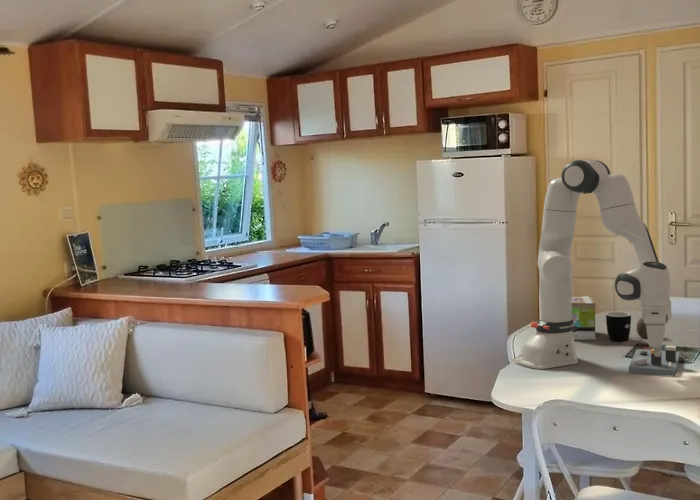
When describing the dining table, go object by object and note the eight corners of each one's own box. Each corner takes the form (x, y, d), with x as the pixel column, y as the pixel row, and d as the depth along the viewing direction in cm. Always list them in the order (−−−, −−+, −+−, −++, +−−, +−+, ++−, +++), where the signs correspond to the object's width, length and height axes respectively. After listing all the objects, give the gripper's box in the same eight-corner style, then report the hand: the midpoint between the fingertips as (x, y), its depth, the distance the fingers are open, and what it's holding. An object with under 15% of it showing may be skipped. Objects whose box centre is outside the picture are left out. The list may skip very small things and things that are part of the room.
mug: (626, 344, 284) (626, 317, 283) (603, 341, 290) (602, 315, 289) (636, 337, 294) (636, 311, 293) (613, 334, 299) (613, 309, 298)
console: (675, 376, 241) (675, 365, 241) (628, 373, 248) (628, 362, 247) (679, 357, 263) (679, 347, 262) (636, 354, 269) (636, 345, 269)
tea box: (596, 340, 292) (595, 302, 291) (569, 340, 294) (568, 302, 293) (591, 331, 307) (591, 295, 305) (566, 331, 309) (565, 295, 307)
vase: (658, 338, 290) (658, 316, 289) (640, 339, 290) (640, 316, 289) (651, 334, 297) (651, 312, 296) (633, 335, 297) (633, 313, 296)
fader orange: (661, 364, 246) (660, 351, 246) (651, 364, 248) (651, 350, 247) (661, 362, 249) (661, 349, 248) (651, 362, 250) (651, 348, 249)
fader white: (675, 361, 250) (675, 347, 249) (665, 360, 251) (665, 347, 251) (675, 359, 252) (675, 345, 252) (666, 358, 254) (666, 345, 253)
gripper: (648, 306, 252) (649, 347, 254) (643, 319, 234) (645, 363, 235) (668, 306, 249) (670, 347, 251) (665, 320, 231) (667, 364, 232)
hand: (657, 355), depth 243 cm, fingers closed
